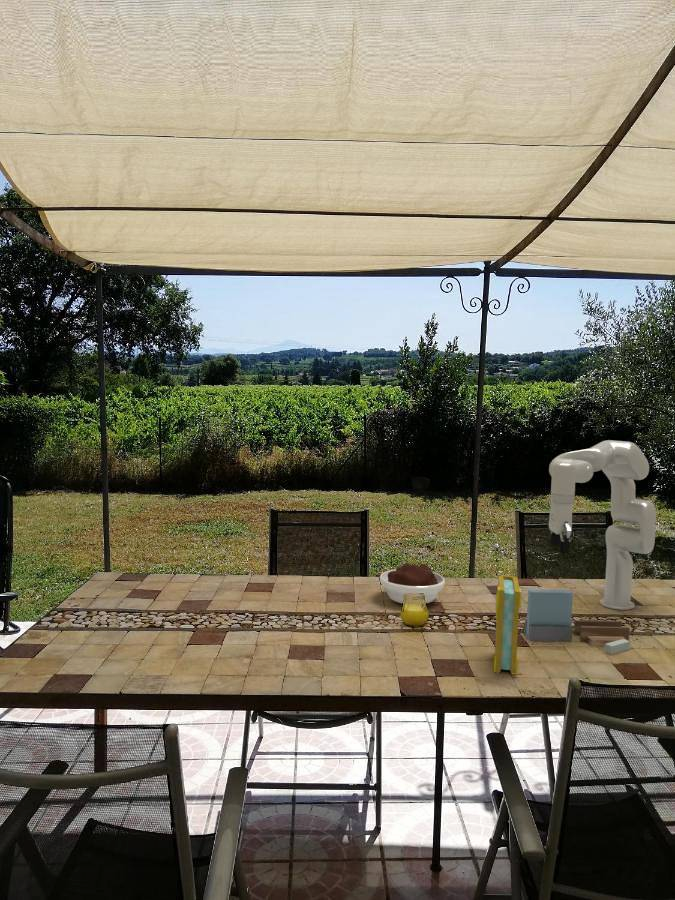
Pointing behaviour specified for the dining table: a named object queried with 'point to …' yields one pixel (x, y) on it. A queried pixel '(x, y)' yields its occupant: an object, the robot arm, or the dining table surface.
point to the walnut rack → (599, 629)
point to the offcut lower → (602, 640)
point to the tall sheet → (549, 608)
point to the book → (507, 623)
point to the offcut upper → (617, 646)
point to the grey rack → (549, 633)
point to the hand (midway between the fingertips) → (559, 549)
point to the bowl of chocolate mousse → (411, 582)
